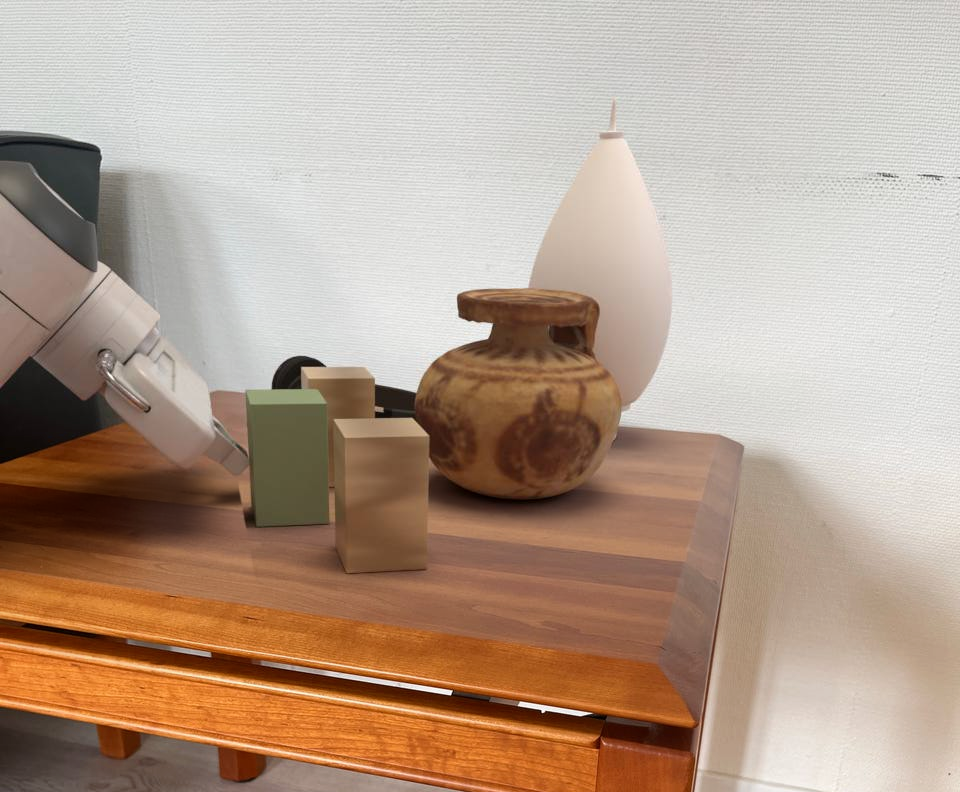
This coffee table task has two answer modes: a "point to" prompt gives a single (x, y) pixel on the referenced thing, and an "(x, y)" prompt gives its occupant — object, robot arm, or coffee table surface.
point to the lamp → (612, 262)
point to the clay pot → (521, 396)
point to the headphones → (388, 398)
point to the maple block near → (381, 494)
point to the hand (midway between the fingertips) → (243, 465)
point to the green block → (288, 456)
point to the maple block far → (341, 397)
